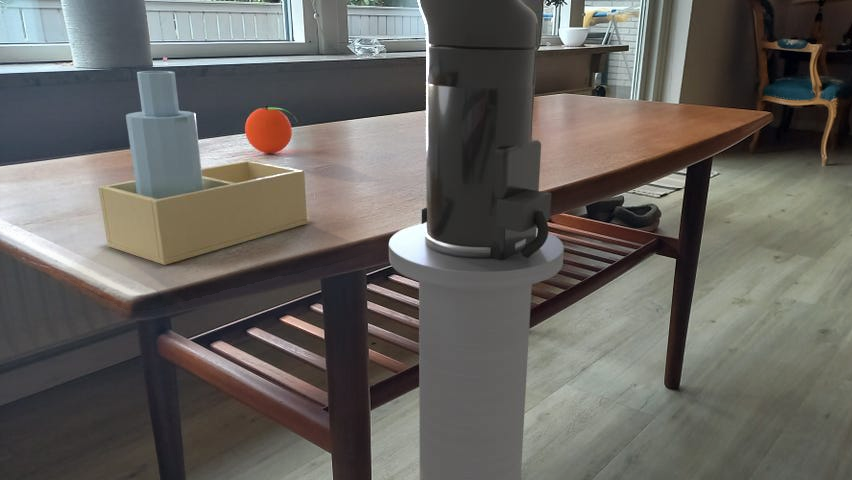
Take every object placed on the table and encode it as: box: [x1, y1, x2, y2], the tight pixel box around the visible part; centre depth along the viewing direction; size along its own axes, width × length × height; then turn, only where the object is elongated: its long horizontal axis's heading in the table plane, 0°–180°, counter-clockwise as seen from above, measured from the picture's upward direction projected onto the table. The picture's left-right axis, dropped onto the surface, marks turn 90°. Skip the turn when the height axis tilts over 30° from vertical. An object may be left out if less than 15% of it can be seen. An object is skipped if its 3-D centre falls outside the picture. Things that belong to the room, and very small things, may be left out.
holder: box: [97, 159, 308, 266], centre depth 65 cm, size 8×16×6 cm, turn 147°
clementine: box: [244, 105, 298, 154], centre depth 106 cm, size 8×7×7 cm
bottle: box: [125, 70, 204, 199], centre depth 61 cm, size 5×6×14 cm
